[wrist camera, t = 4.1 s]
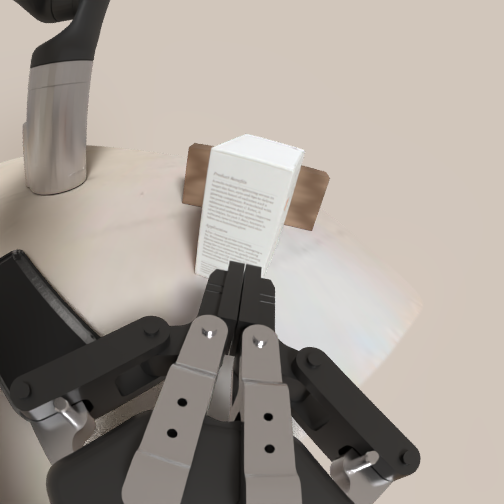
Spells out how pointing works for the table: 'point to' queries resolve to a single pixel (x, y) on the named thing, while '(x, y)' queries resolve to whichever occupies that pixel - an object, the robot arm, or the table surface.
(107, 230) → the table surface
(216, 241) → the small box
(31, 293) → the phone
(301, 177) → the walnut board
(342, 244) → the table surface
